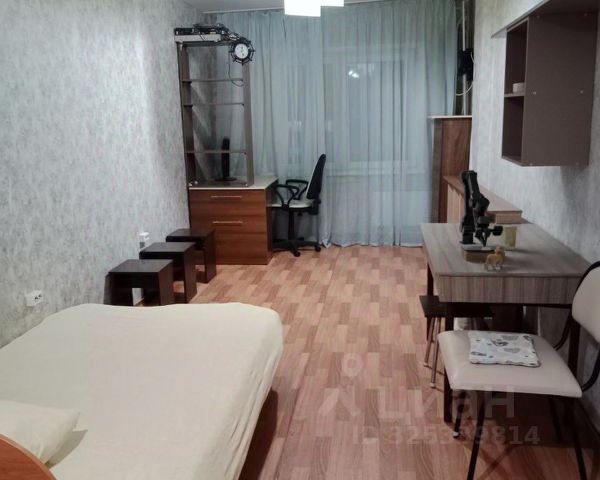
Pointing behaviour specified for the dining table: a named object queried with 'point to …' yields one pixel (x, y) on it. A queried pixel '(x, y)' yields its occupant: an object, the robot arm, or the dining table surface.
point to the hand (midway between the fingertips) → (485, 245)
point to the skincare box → (508, 237)
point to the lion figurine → (495, 258)
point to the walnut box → (477, 254)
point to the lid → (481, 247)
